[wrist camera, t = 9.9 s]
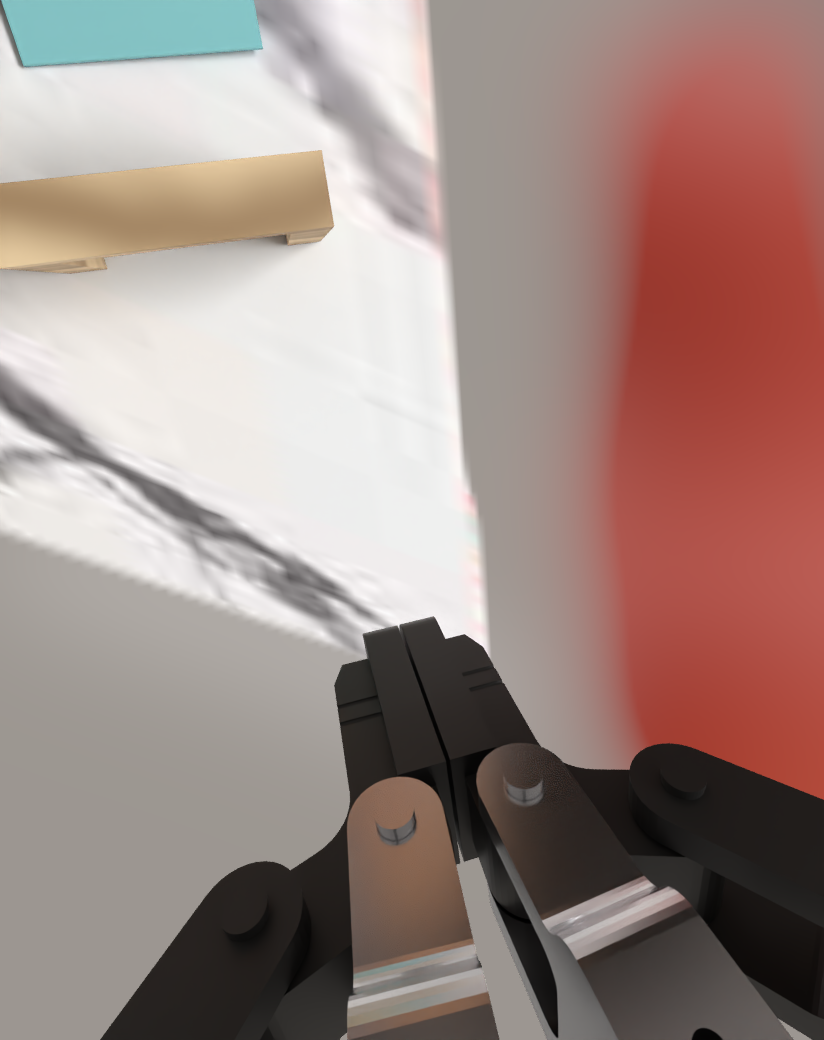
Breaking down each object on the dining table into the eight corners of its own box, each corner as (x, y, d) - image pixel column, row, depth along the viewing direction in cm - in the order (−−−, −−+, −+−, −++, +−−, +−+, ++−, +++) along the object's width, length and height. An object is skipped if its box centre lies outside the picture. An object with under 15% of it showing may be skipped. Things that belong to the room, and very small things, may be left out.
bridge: (50, 214, 30) (-36, 187, 22) (310, 185, 32) (321, 150, 24) (71, 273, 31) (-3, 268, 23) (320, 241, 34) (334, 226, 25)
